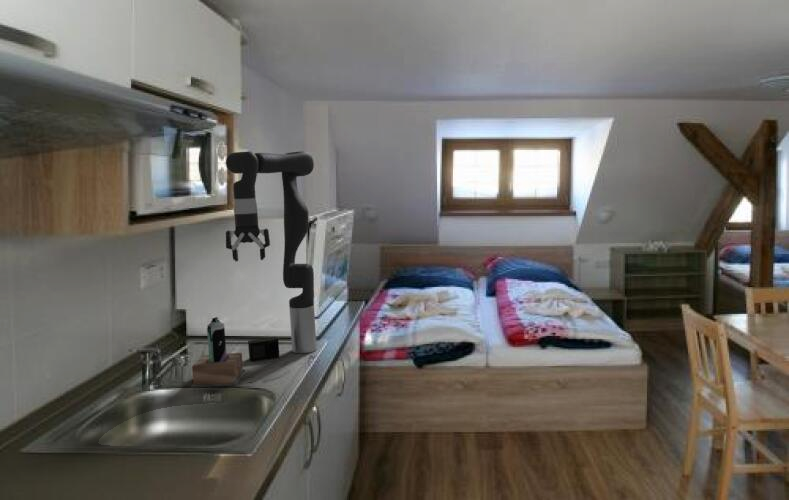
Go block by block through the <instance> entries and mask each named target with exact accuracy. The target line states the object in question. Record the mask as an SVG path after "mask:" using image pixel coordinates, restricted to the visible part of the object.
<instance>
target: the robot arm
mask: <svg viewBox="0 0 789 500" xmlns="http://www.w3.org/2000/svg"><path fill="white" fill-rule="evenodd" d="M225 159H226V160H225V166H226V168H227V170H228V171H229V172H230V173H232V174H237V175H239V174H241V178H240V179H239V180H236V181H235V182H234V183H233V185H232V188H233V189H232V191H233V213H234V216H233V217H234V226H235V227H234V229H235V230H226V231H225V249H227V250H231V251H232V259H233V261H234V262H239V254H238V253H239V251H238V247H239V246H240V245H241V243H243V244H245V243H251V244H252V243H255V244H256V245H257V247H259V258H260V261H264V260H265V258H266V248H267V247H269V246H271V240H270V233H269V229H268V228H262V229H260V227H259V216H258V215H259V214H258V205H257V200H256V198H257V197H256V188H255V187H256V182H257V177H258V174H276V173H281V180H282V189H283V232H284V235H283V236H284V253H283V267H282V268H283V269H282V281H283V284H284V287H285V288H287V289H302V292H301V293H300V294H298V295H296V296H294V297H291V298H290V299H289V300H288V304H289V305H288V306H289V321H290V337H291V338H290V339H291V351H292V352H293V353H294V354H309V353H313V352H316V351H317V350H318V349H317V333H316V331H317V330H316V317H315V316H316V315H315V287H314V286H315V283H314V282H315V276H314V275H315V274H314V268H313V266H312V264H310V263H296V255H297V252H298V249H299V247H300V246H301V244H302V242H303V241H304V239H305V237H306V236H307V233H308V231H309V228H310V226H309V223H310V219H309V214H310V213H309V209H308V207H307V205H306V203H305V201H304V200H303V198H302V196H301V195H300V192H299V190H298V184H297V183H298V182H297V180H298V179H297V177H298V178H299V177H305V176H308V175H310V174H311V173H312V172H313V170H314V168H315V167H314V166H315V163H314V159H313V156H312V155H311V154H310V153H309V152H307V151H300V150H299V151H292V152H286V153H284V154H282V153H269V152H252V151H251V150H250V151H238V152H235V151H234V152H232V153H230V154H229V155H227V157H226V158H225ZM234 235H235V237H236V238H237V239H236V240H235V242H234V244H233V245H232V238H233V237H234ZM259 235H262V236H263V238H264V242H262V240H261V239H260V238H259V237H258V236H259Z"/></svg>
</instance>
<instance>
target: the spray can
mask: <svg viewBox="0 0 789 500" xmlns="http://www.w3.org/2000/svg"><path fill="white" fill-rule="evenodd" d="M225 330H226V329H225V324H224V323H223V322H221V321H220V320H219V317H217V316H216V317H212V320H211V321H210V323H209V324H207V326H206V331H207V332H206V334H207V348H208V355H209V361H210V363H211V362H226V360H227V356H226V354H227V346H226V345H227V344H226V342H227V341H226V331H225Z"/></svg>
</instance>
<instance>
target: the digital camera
mask: <svg viewBox="0 0 789 500" xmlns="http://www.w3.org/2000/svg"><path fill="white" fill-rule="evenodd" d="M247 344H248V345H247V347H248V357H249V361H251V362H258V361H264V360H271V359H277V358H278V359H279V358H280V345H279V344H280V343H279V338H278V337H276V336H273V337H266V338H258V339H253V340H252V339H251V340H248V341H247Z"/></svg>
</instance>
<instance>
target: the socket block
mask: <svg viewBox="0 0 789 500" xmlns="http://www.w3.org/2000/svg"><path fill="white" fill-rule="evenodd" d="M226 356H227V360H226V362H211V363H210V361H209V354H202V355H201V356H200V357H199V358H198V359H197V361H196V362H195V363H194V364H192V366H191V367H192V369H191V370H192V380H193V381H192V382H193V383H192V384H191V389H193V388H207V387H208V388H211V387H225V386H226V387H228V386H237V384H238V383H239V382H240V380H241V379H242V377H243V376H244V374H245V371H246V370H245V369H244V368H243V366H244V365H243V355H242V352H234V353H233V352H232V353H226Z"/></svg>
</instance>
